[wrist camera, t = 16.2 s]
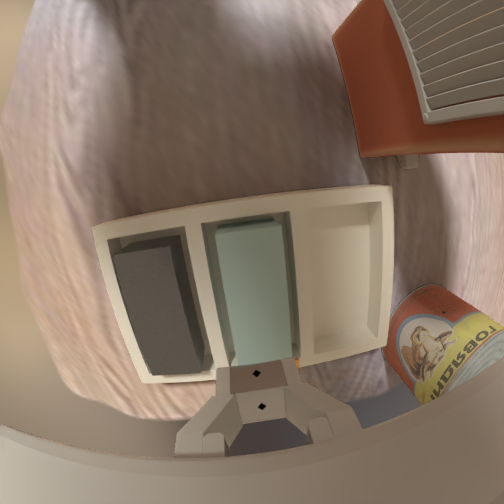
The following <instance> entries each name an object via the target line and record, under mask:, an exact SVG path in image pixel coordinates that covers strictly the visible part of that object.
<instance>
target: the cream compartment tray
mask: <svg viewBox="0 0 504 504" xmlns="http://www.w3.org/2000/svg"><path fill="white" fill-rule="evenodd" d="M266 218H274V219H275V220H276V221H277V222H278V223H279V224H280V225H281V226H282V234H283V245H284V255H285V266H286V278H287V290H288V302H289V315H290V329H291V345H292V357H293V358H294V360H295V363H296V365H297V368H298V370H300V367H304V366H309V365H314V364H319V363H323V362H328V361H332V360H336V359H340V358H344V357H348V356H352V355H356V354H360V353H363V352H367V351H370V350H374V349H377V348H380V347H384V346H386V344H387V337H388V329H389V321H390V312H391V301H392V288H393V269H394V205H393V187H392V186H391V185H380V184H369V185H355V186H342V187H330V188H319V189H309V190H299V191H290V192H281V193H273V194H265V195H257V196H249V197H242V198H235V199H228V200H221V201H214V202H208V203H201V204H195V205H189V206H183V207H177V208H172V209H166V210H161V211H155V212H150V213H145V214H140V215H135V216H130V217H125V218H120V219H115V220H111V221H106V222H104V223H101V224H99V225H96V226H94V227H91V228H92V233H93V237H94V242H95V246H96V250H97V255H98V259H99V263H100V266H101V270H102V274H103V277H104V281H105V284H106V288H107V291H108V295H109V298H110V301H111V304H112V307H113V310H114V313H115V316H116V319H117V322H118V325H119V327H120V330H121V333H122V336H123V338H124V341H125V343H126V346H127V349H128V351H129V354H130V356H131V358H132V361H133V363H134V366H135V368H136V370H137V372H138V375H139V377H140V379H141V381H142V383H174V382H192V381H206V380H216V370H217V368H220V367H230V366H238V363H237V358H236V353H235V347H234V342H233V337H232V332H231V326H230V321H229V315H228V310H227V304H226V299H225V293H224V287H223V281H222V275H221V269H220V263H219V257H218V251H217V245H216V238H215V233H216V230H217V226H218V225H221V224H228V223H235V222H243V221H250V220H258V219H266ZM174 235H180V237H181V243H182V248H183V253H184V258H185V263H186V268H187V273H188V278H189V282H190V287H191V292H192V296H193V300H194V305H195V309H196V313H197V318H198V322H199V326H200V330H201V334H202V338H203V342H204V345H205V350H204V358H203V365H202V373H195V374H180V375H158V376H152V374H151V371H150V369H149V367H148V364H147V362H146V359H145V356H144V354H143V351H142V349H141V346H140V343H139V341H138V338H137V335H136V332H135V329H134V326H133V324H132V321H131V318H130V314H129V311H128V308H127V305H126V302H125V298H124V295H123V292H122V288H121V285H120V281H119V278H118V274H117V270H116V266H115V262H114V258H113V255H114V254H115V253H117V252H118V251H120V250H121V249H122V248H124V247H125V246H127V245H128V244H130V243H132V242H138V241H144V240H150V239H156V238H162V237H168V236H174Z"/></svg>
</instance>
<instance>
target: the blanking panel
mask: <svg viewBox="0 0 504 504" xmlns="http://www.w3.org/2000/svg"><path fill="white" fill-rule="evenodd" d="M215 238H216V245H217V251H218V257H219V263H220V269H221V275H222V281H223V287H224V293H225V299H226V304H227V310H228V315H229V321H230V326H231V332H232V337H233V342H234V347H235V353H236V358H237V363H238V365H247V364H255V363H262V362H268V361H273V360H279V359H283V358H287V357H292V345H291V329H290V315H289V302H288V290H287V278H286V266H285V255H284V245H283V234H282V226H281V225H280V224H279V223H278V222H277V221H276V220H275V219H274V218H266V219H258V220H250V221H243V222H235V223H228V224H221V225H218V226H217V230H216V233H215Z"/></svg>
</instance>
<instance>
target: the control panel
mask: <svg viewBox="0 0 504 504" xmlns="http://www.w3.org/2000/svg"><path fill="white" fill-rule="evenodd" d="M332 40H333V43H334V46H335V49H336V52H337V56H338V59H339V63H340V66H341V70H342V73H343V77H344V81H345V85H346V89H347V93H348V97H349V102H350V106H351V111H352V115H353V120H354V125H355V130H356V136H357V141H358V147H359V153H360V157H362V158H367V157H382V156H397V158H398V162H399V165H400V167H401V168H402V169H416V168H417V167H419V154H435V153H504V0H361V1H360V3H359V4H358V5H357V6H356V7H355V8H354V10H353V11H352V12H351V13H350V14H349V16H348V17H347V18H346V19H345V21H344V22H343V23H342V24H341V25H340V27H339V28H338V29H337V30H336V32H335V33H334V34H333V36H332Z"/></svg>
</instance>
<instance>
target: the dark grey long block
mask: <svg viewBox="0 0 504 504" xmlns="http://www.w3.org/2000/svg"><path fill="white" fill-rule="evenodd" d="M113 258H114V262H115V266H116V270H117V274H118V278H119V281H120V285H121V288H122V292H123V295H124V298H125V302H126V305H127V308H128V311H129V314H130V318H131V321H132V324H133V326H134V329H135V332H136V335H137V338H138V341H139V343H140V346H141V349H142V351H143V354H144V356H145V359H146V362H147V364H148V367H149V369H150V371H151V374H152V376H158V375H180V374H195V373H202V365H203V358H204V350H205V345H204V342H203V338H202V334H201V330H200V326H199V322H198V318H197V313H196V309H195V305H194V300H193V296H192V292H191V287H190V282H189V278H188V273H187V268H186V263H185V258H184V253H183V248H182V243H181V237H180V235H174V236H168V237H162V238H156V239H150V240H144V241H138V242H132V243H130V244H128V245H127V246H125V247H124V248H122V249H121V250H120V251H118V252H117V253H115V254H114V255H113Z"/></svg>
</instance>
